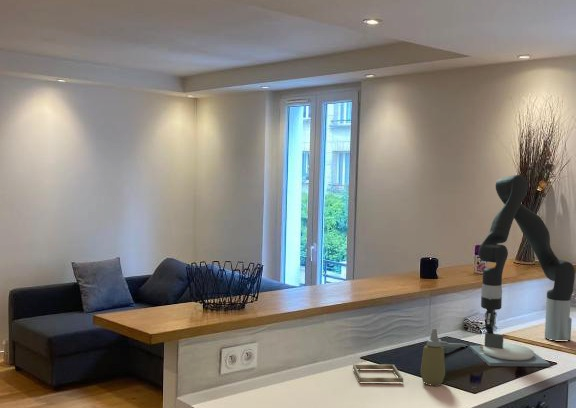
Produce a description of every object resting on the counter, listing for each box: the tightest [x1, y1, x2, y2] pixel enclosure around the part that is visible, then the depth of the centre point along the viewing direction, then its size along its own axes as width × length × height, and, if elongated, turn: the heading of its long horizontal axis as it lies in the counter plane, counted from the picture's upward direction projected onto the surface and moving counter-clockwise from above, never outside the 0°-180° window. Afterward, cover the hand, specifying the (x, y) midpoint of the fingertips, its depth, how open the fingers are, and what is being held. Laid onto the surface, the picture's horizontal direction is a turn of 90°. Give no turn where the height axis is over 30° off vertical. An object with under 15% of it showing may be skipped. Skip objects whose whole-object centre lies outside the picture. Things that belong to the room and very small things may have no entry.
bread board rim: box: [352, 363, 404, 383], centre depth 220 cm, size 14×14×2 cm
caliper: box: [438, 338, 468, 350], centre depth 254 cm, size 20×1×6 cm, turn 130°
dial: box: [479, 331, 535, 361], centre depth 247 cm, size 19×18×6 cm
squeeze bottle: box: [419, 328, 446, 386], centre depth 214 cm, size 8×8×18 cm
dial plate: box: [468, 345, 551, 368], centre depth 247 cm, size 22×22×1 cm
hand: (489, 339), depth 253 cm, fingers closed
